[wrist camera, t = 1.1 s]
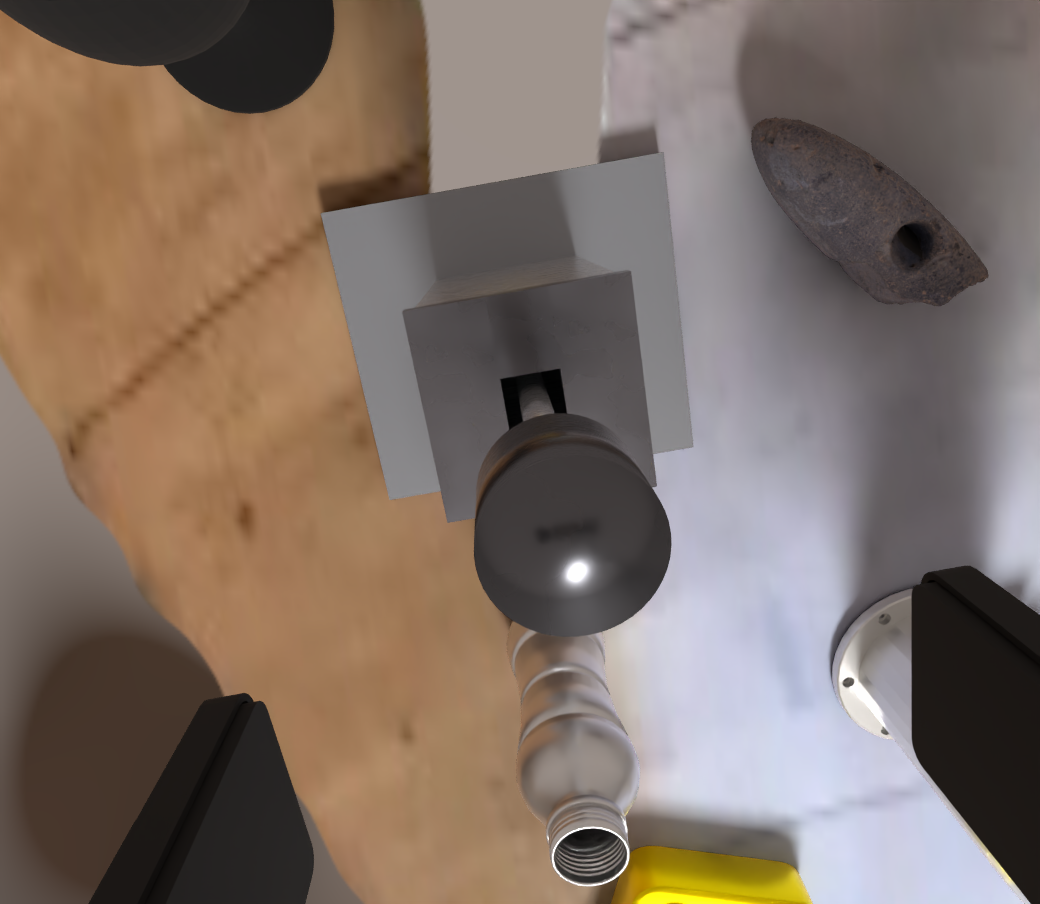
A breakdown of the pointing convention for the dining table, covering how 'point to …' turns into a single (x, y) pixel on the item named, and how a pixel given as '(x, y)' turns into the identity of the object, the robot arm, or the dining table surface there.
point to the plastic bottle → (573, 753)
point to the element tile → (706, 879)
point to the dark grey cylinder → (566, 523)
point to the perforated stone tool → (864, 215)
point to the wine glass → (198, 42)
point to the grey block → (525, 361)
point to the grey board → (493, 245)
